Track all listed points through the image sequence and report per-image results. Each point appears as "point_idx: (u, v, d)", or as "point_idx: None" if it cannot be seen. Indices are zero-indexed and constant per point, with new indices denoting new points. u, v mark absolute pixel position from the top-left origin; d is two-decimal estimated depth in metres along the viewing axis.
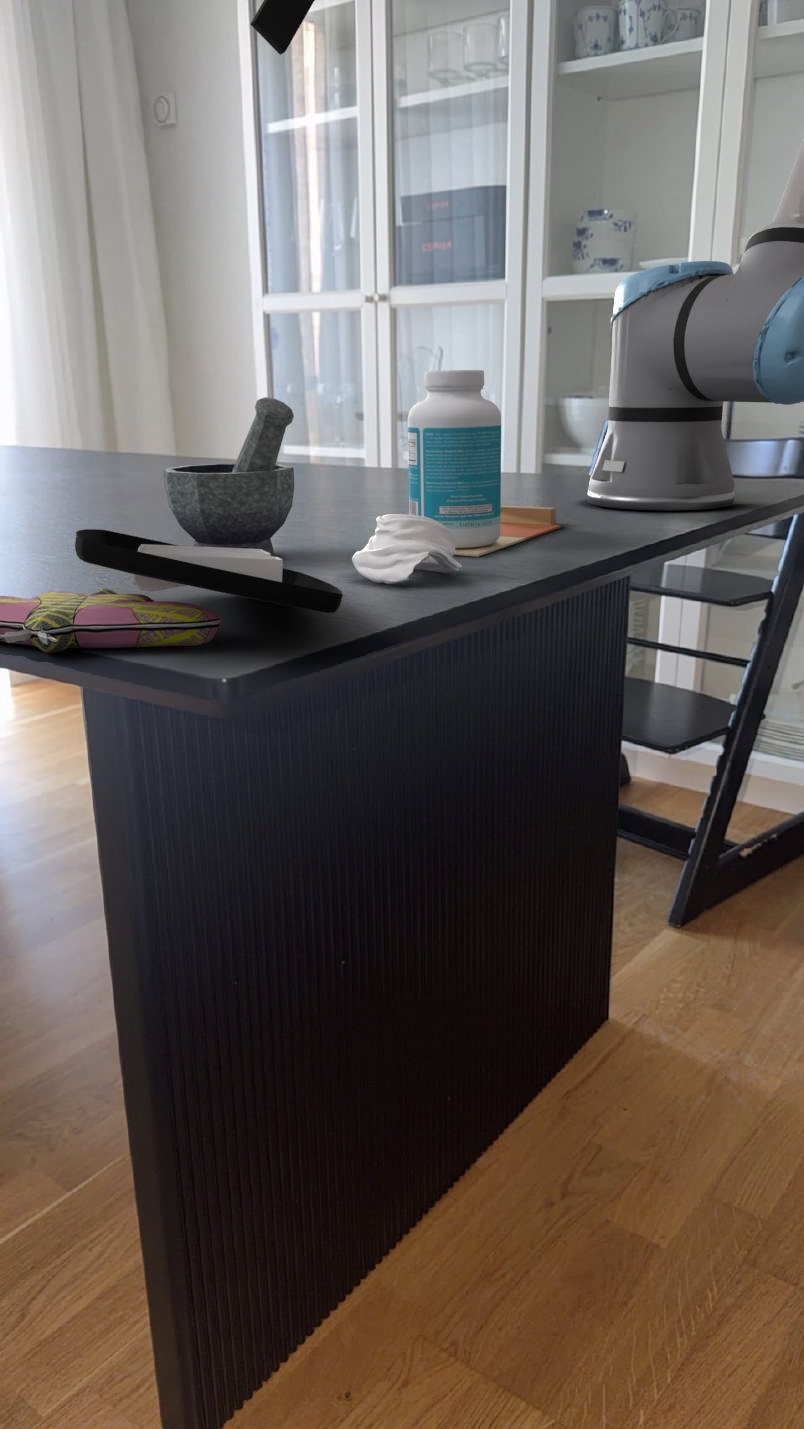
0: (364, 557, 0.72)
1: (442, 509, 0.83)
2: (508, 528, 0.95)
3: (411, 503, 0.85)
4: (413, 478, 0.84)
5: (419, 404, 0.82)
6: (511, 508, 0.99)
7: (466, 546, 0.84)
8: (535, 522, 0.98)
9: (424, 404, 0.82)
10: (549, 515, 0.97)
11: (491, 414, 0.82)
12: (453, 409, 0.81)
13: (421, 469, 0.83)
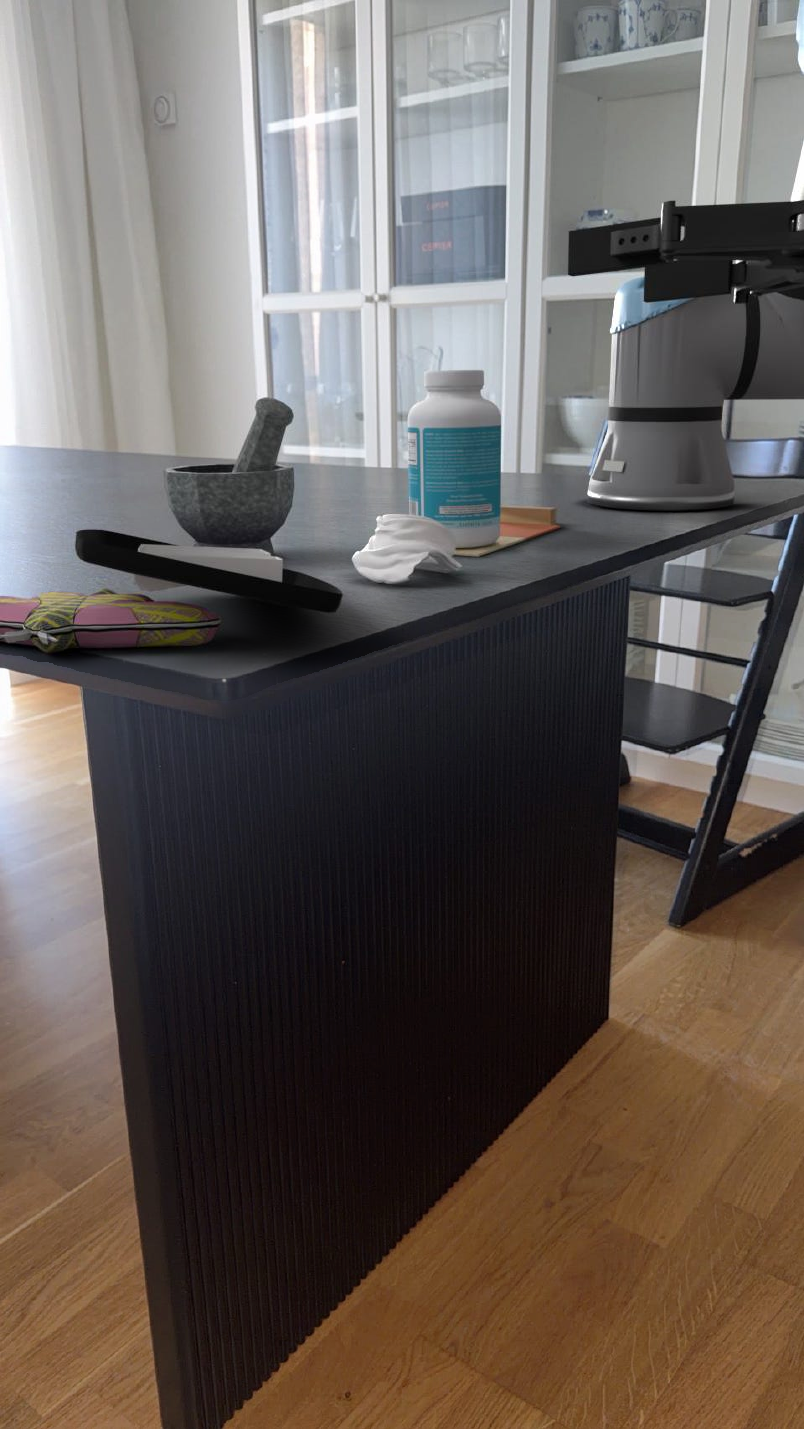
0: (364, 557, 0.72)
1: (442, 509, 0.83)
2: (508, 528, 0.95)
3: (411, 503, 0.85)
4: (413, 478, 0.84)
5: (419, 404, 0.82)
6: (511, 508, 0.99)
7: (466, 546, 0.84)
8: (535, 522, 0.98)
9: (424, 404, 0.82)
10: (549, 515, 0.97)
11: (491, 414, 0.82)
12: (453, 409, 0.81)
13: (421, 469, 0.83)
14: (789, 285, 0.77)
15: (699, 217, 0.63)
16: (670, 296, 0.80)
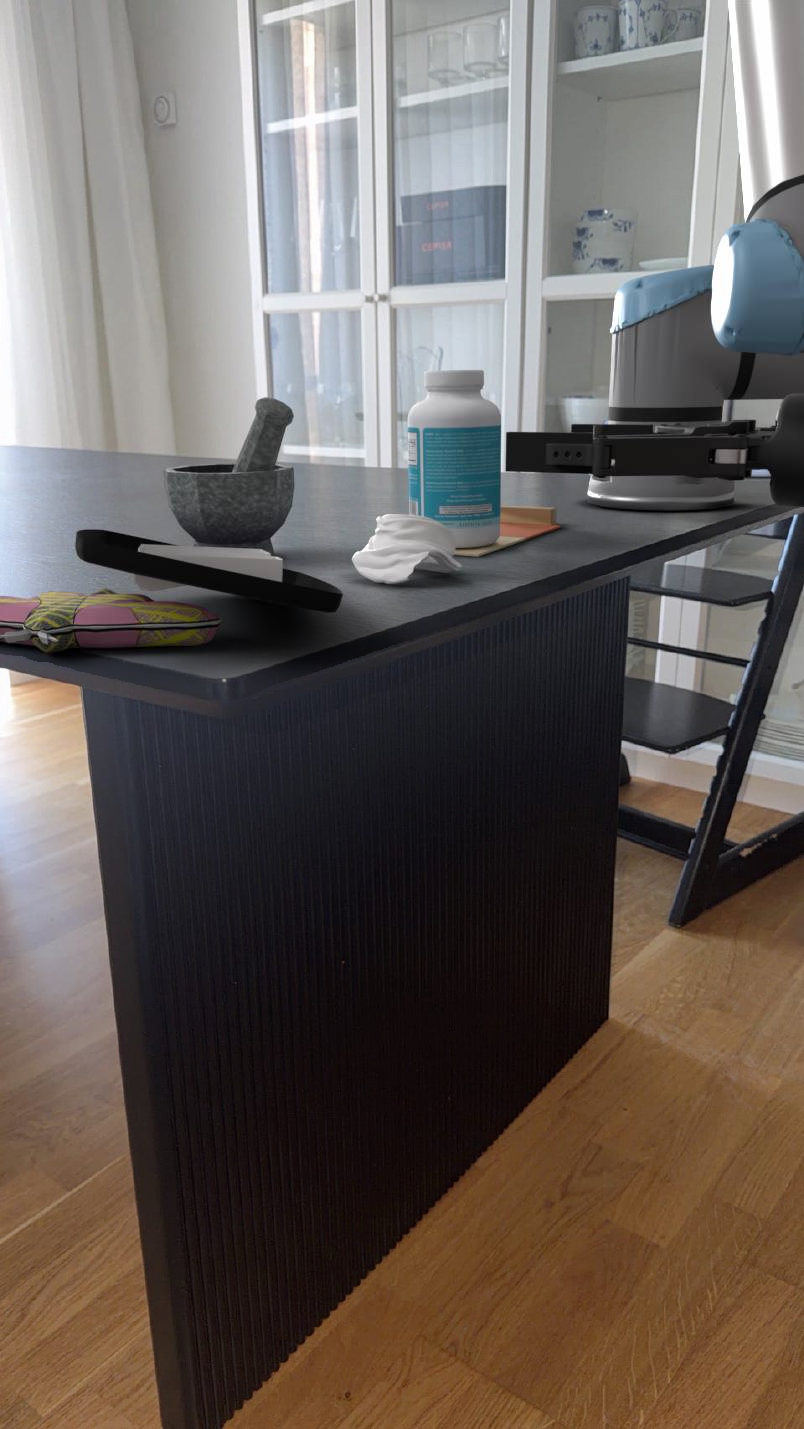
0: (364, 557, 0.72)
1: (442, 509, 0.83)
2: (508, 528, 0.95)
3: (411, 503, 0.85)
4: (413, 478, 0.84)
5: (419, 404, 0.82)
6: (511, 508, 0.99)
7: (466, 546, 0.84)
8: (535, 522, 0.98)
9: (424, 404, 0.82)
10: (549, 515, 0.97)
11: (491, 414, 0.82)
12: (453, 409, 0.81)
13: (421, 469, 0.83)
14: None
15: (628, 448, 0.69)
16: None
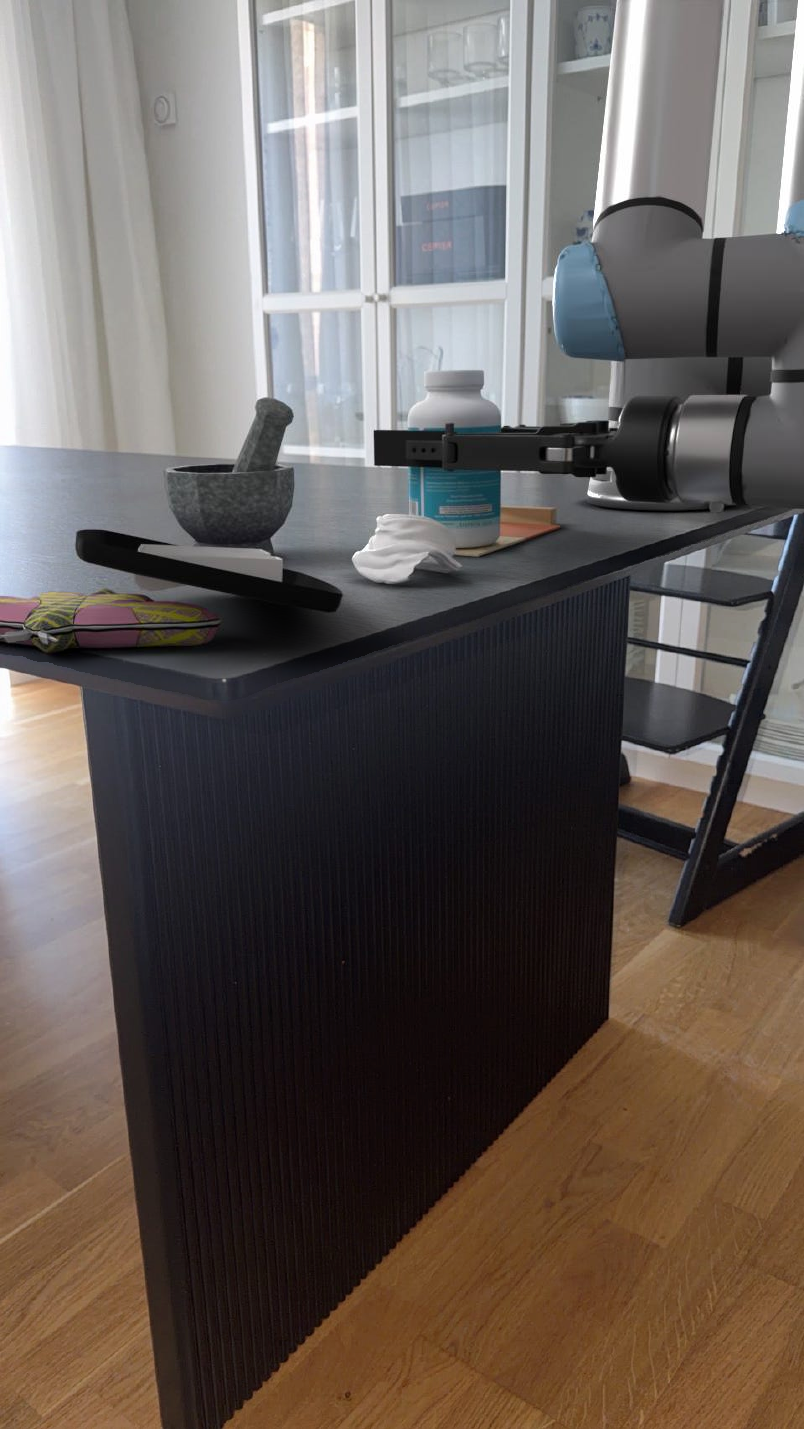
0: (364, 557, 0.72)
1: (442, 509, 0.83)
2: (508, 528, 0.95)
3: (411, 503, 0.85)
4: (413, 478, 0.84)
5: (419, 404, 0.82)
6: (511, 508, 0.99)
7: (466, 546, 0.84)
8: (535, 522, 0.98)
9: (424, 404, 0.82)
10: (549, 515, 0.97)
11: (491, 414, 0.82)
12: (453, 409, 0.81)
13: (421, 469, 0.83)
14: None
15: (469, 445, 0.76)
16: None
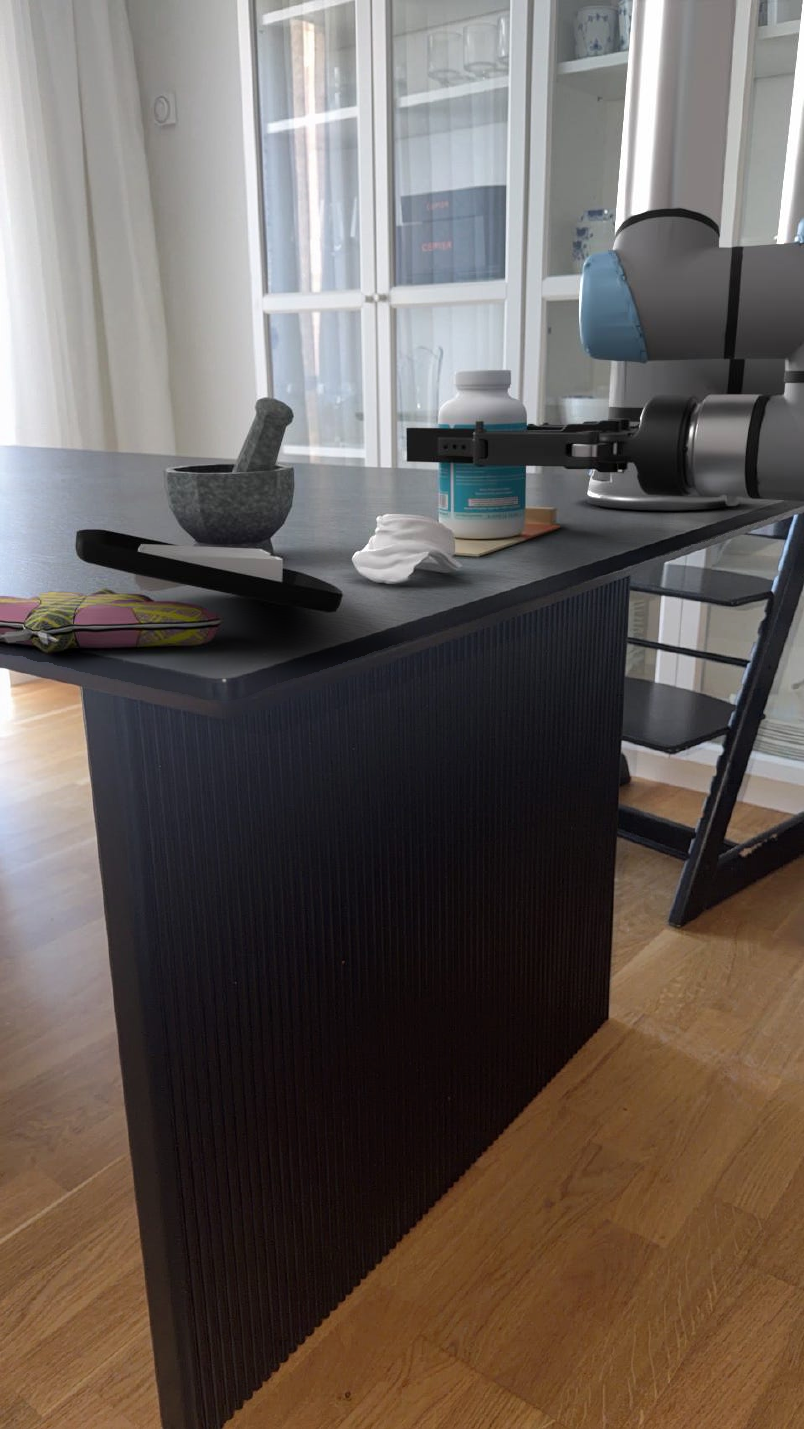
0: (364, 557, 0.72)
1: (471, 502, 0.87)
2: None
3: (441, 496, 0.90)
4: (443, 472, 0.88)
5: (449, 402, 0.87)
6: None
7: (493, 537, 0.88)
8: (535, 522, 0.98)
9: (455, 402, 0.87)
10: (549, 515, 0.97)
11: (518, 411, 0.86)
12: (482, 407, 0.85)
13: (451, 464, 0.87)
14: None
15: (498, 442, 0.81)
16: None
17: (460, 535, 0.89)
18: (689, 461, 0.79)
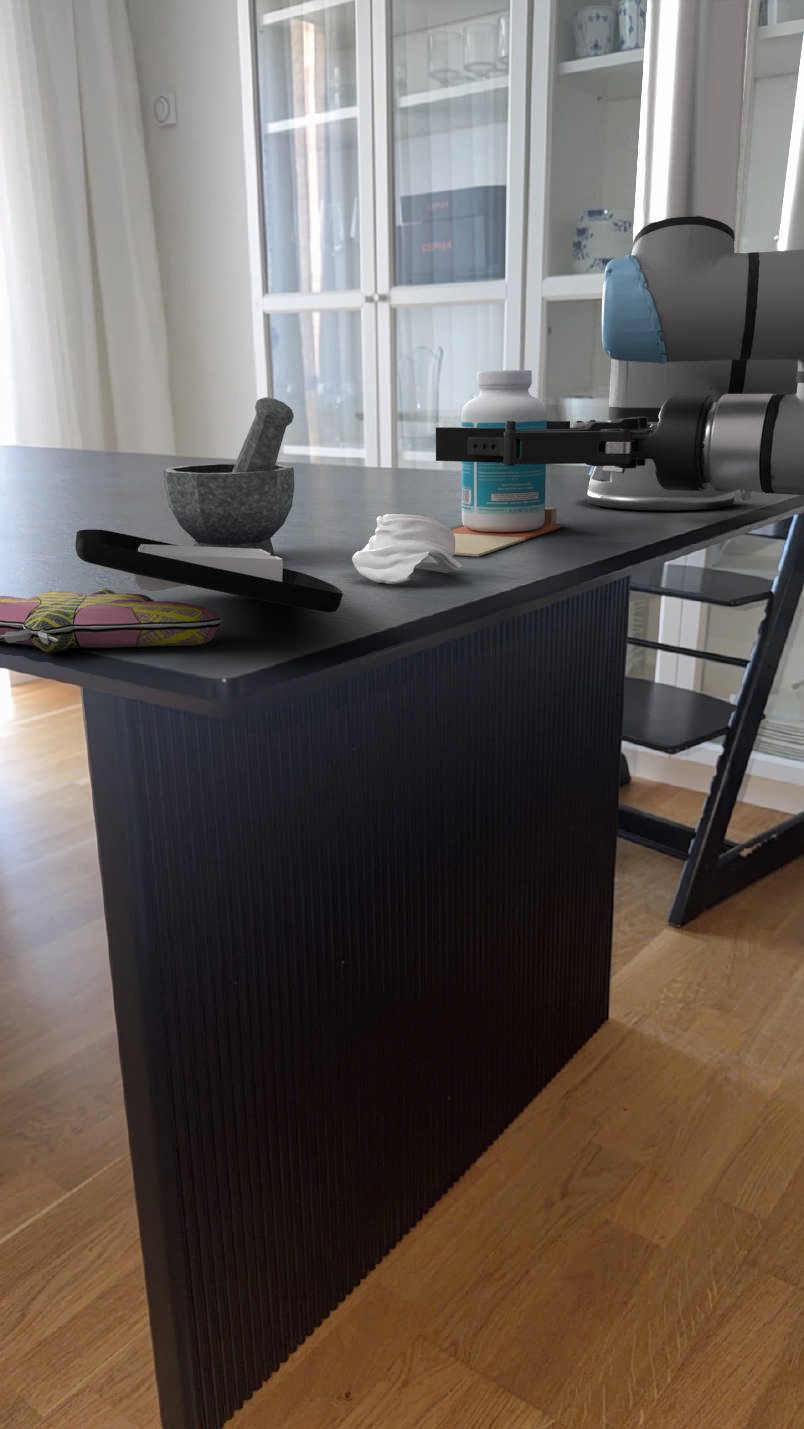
0: (364, 557, 0.72)
1: (493, 496, 0.91)
2: None
3: (464, 491, 0.93)
4: (466, 468, 0.92)
5: (473, 401, 0.91)
6: None
7: (515, 530, 0.92)
8: None
9: (478, 401, 0.90)
10: (549, 515, 0.97)
11: (539, 410, 0.90)
12: (505, 406, 0.89)
13: None
14: None
15: (532, 441, 0.82)
16: None
17: (483, 529, 0.92)
18: (705, 457, 0.82)
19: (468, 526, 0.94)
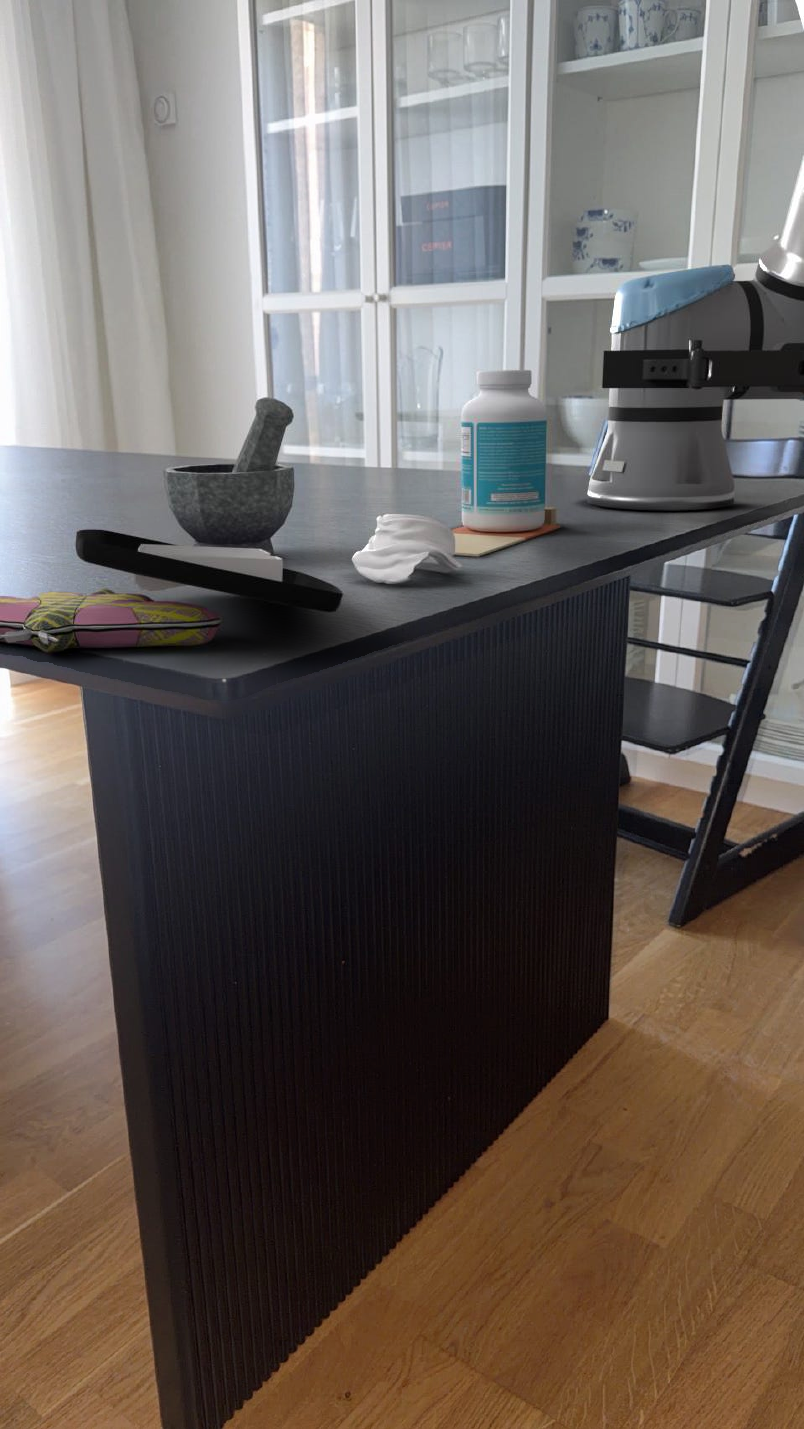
0: (364, 557, 0.72)
1: (493, 496, 0.91)
2: None
3: (464, 491, 0.93)
4: (466, 468, 0.92)
5: (473, 401, 0.91)
6: None
7: (515, 530, 0.92)
8: None
9: (478, 401, 0.90)
10: (549, 515, 0.97)
11: (539, 410, 0.90)
12: (505, 406, 0.89)
13: (474, 460, 0.91)
14: None
15: (724, 361, 0.74)
16: None
17: (483, 529, 0.92)
18: None
19: (468, 526, 0.94)
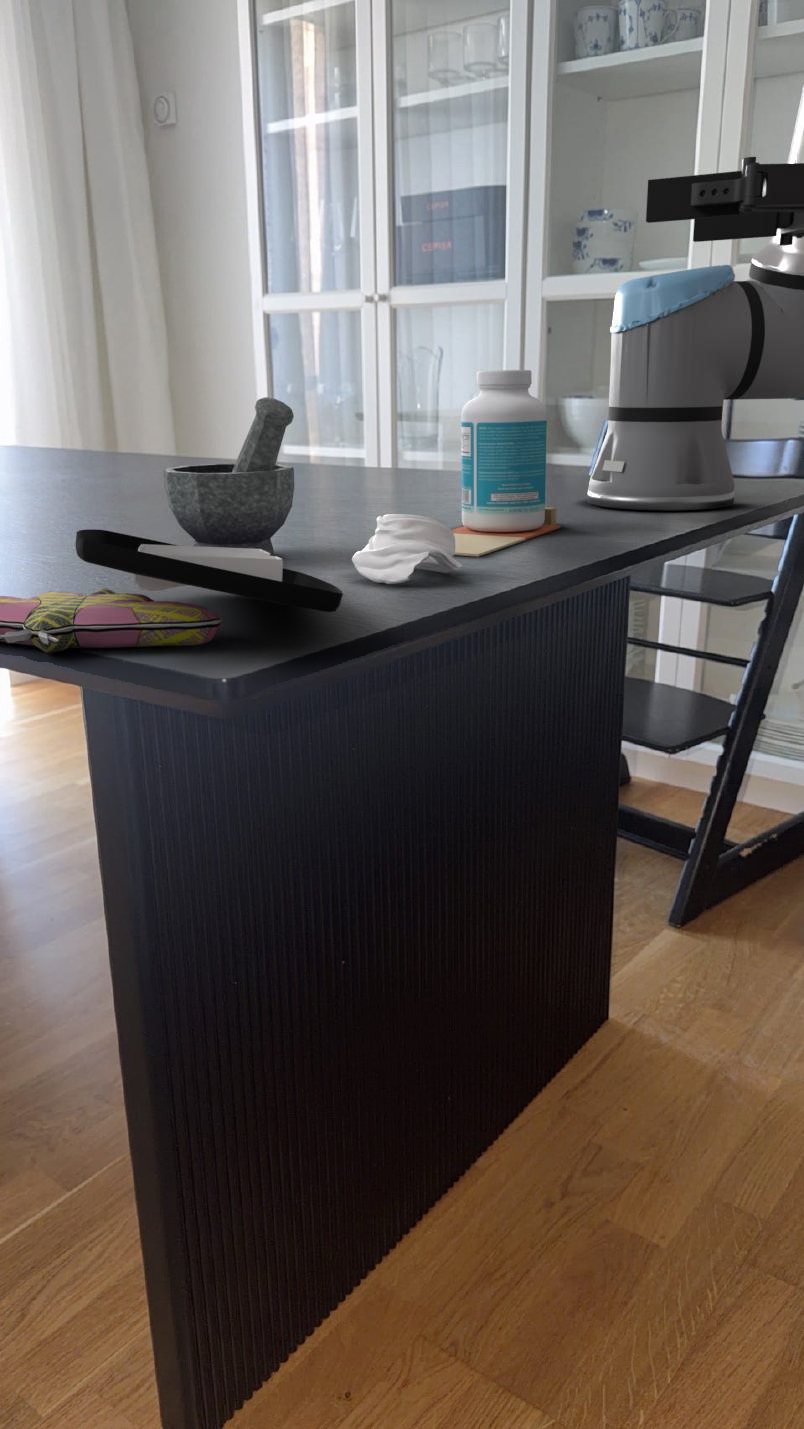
0: (364, 557, 0.72)
1: (493, 496, 0.91)
2: None
3: (464, 491, 0.93)
4: (466, 468, 0.92)
5: (473, 401, 0.91)
6: None
7: (515, 530, 0.92)
8: None
9: (478, 400, 0.90)
10: (549, 515, 0.97)
11: (539, 410, 0.90)
12: (505, 406, 0.89)
13: (474, 460, 0.91)
14: None
15: (781, 175, 0.69)
16: (719, 236, 0.86)
17: (483, 529, 0.92)
18: None
19: (468, 526, 0.94)
